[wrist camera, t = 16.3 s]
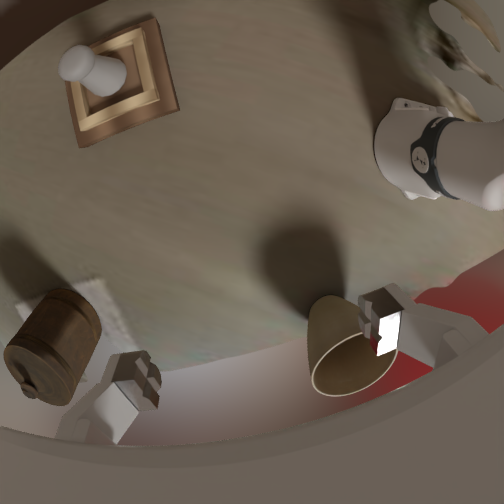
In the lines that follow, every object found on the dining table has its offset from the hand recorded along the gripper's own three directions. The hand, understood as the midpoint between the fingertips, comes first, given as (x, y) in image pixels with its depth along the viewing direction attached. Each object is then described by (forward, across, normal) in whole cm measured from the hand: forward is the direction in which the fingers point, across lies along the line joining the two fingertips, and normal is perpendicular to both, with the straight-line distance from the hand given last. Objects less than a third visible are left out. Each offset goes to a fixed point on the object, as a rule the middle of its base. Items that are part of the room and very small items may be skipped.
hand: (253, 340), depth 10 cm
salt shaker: (+31, +12, -21) cm, 39 cm away
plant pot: (+34, -12, +28) cm, 46 cm away
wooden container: (+34, +39, +16) cm, 54 cm away
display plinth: (+34, +12, -21) cm, 42 cm away
